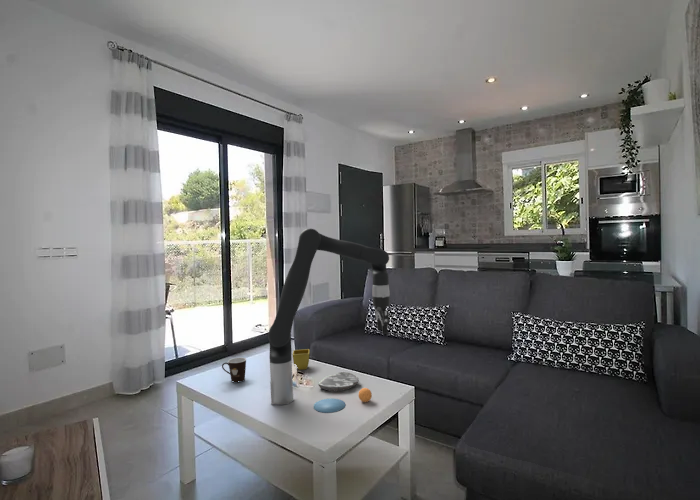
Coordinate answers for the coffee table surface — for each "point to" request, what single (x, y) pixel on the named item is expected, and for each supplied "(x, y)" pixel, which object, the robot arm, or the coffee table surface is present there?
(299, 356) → the flower pot
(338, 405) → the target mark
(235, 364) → the coffee mug
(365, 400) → the ball
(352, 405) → the coffee table surface
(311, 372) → the coffee table surface
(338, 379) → the brain slice
